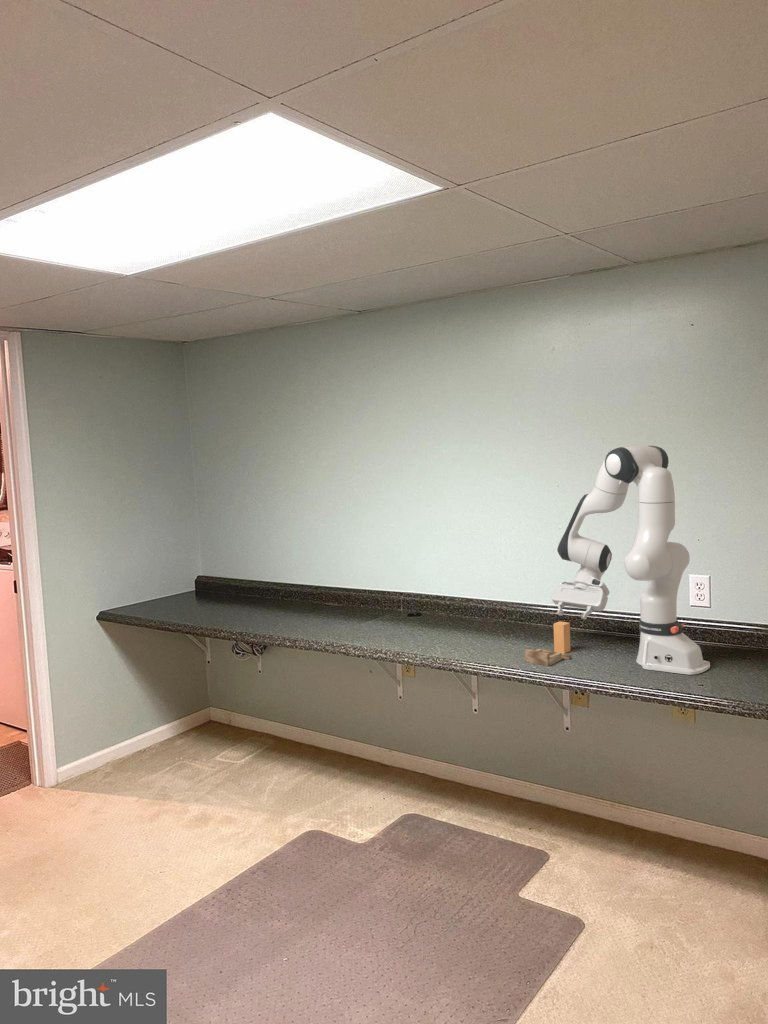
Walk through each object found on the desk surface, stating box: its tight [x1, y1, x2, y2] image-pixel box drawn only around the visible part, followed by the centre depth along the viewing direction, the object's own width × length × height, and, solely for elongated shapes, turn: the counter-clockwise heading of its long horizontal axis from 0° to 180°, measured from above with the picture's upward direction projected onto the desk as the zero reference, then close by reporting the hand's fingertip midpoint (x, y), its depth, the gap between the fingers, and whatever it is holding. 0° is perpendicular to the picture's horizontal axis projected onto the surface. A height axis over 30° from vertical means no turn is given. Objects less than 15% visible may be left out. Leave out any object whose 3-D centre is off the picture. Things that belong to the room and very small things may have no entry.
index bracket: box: [524, 648, 563, 667], centre depth 261 cm, size 9×8×4 cm
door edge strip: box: [542, 649, 572, 661], centre depth 265 cm, size 12×2×1 cm, turn 45°
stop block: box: [553, 620, 571, 654], centre depth 270 cm, size 4×4×10 cm
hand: (571, 616), depth 274 cm, fingers open, 8 cm apart
